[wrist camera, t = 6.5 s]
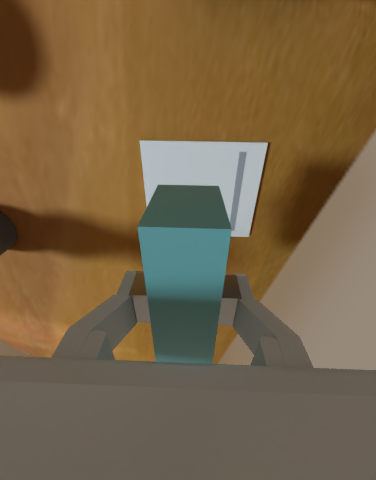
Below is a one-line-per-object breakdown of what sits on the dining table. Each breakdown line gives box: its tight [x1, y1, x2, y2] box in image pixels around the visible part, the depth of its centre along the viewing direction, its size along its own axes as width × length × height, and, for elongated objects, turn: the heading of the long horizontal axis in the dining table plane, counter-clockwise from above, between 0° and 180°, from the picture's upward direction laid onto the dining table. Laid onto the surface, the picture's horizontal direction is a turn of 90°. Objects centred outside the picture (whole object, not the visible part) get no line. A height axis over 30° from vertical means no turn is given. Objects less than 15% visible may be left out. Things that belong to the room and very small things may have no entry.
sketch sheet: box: [140, 140, 268, 237], centre depth 20 cm, size 10×11×1 cm
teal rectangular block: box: [138, 185, 232, 364], centre depth 10 cm, size 9×3×4 cm, turn 179°
